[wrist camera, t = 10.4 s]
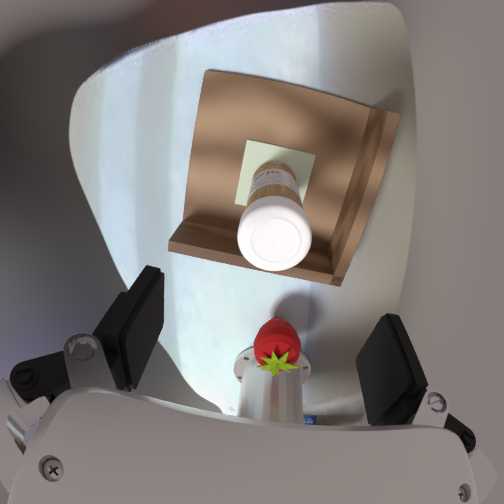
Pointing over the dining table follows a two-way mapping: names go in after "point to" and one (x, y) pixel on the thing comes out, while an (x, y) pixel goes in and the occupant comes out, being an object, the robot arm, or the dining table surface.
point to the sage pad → (266, 153)
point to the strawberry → (277, 346)
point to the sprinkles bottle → (274, 220)
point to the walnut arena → (293, 137)
